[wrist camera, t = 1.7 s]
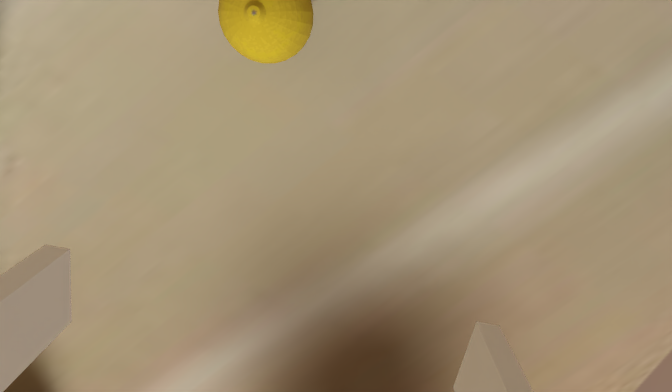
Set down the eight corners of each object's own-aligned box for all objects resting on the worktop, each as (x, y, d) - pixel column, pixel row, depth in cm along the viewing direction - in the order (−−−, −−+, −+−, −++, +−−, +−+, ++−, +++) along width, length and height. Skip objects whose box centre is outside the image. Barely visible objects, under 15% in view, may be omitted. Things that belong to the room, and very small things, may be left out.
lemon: (268, 75, 32) (242, 87, 24) (221, 4, 30) (179, -6, 23) (333, 31, 31) (327, 29, 23) (288, -45, 29) (266, -72, 22)
